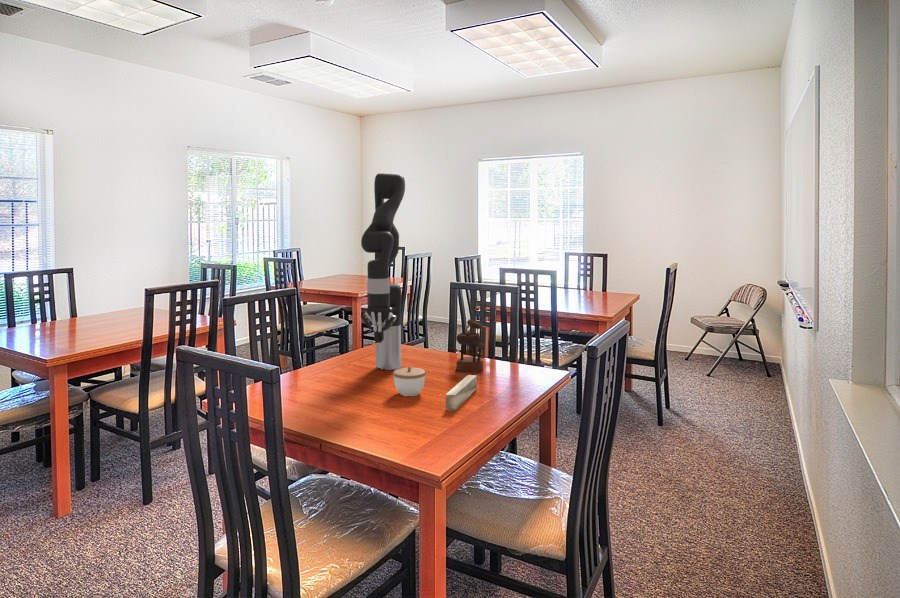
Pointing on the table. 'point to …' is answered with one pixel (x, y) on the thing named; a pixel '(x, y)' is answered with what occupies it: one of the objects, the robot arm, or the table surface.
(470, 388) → the grey long bar
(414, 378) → the lidded jar
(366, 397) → the table surface
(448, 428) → the table surface
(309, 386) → the table surface
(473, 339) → the music box
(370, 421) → the table surface
